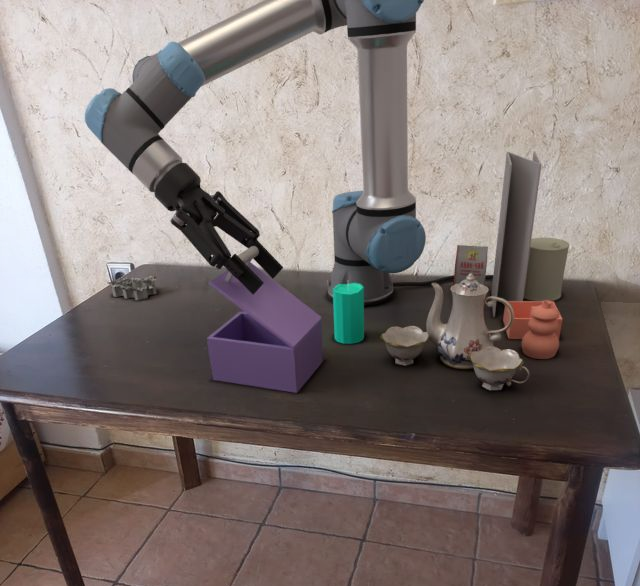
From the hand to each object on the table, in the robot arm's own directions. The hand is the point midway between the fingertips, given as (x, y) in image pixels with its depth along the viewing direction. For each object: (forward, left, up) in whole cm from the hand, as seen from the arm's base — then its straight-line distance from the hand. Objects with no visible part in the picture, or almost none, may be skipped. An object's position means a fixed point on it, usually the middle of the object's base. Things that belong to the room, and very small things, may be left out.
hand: (268, 280), depth 104 cm
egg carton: (+26, -52, -18) cm, 61 cm away
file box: (+1, -1, -17) cm, 17 cm away
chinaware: (-32, +8, -17) cm, 37 cm away
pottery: (-50, +3, -17) cm, 53 cm away
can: (-64, -18, -17) cm, 68 cm away
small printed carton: (-51, -27, -18) cm, 60 cm away
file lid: (+1, 0, -4) cm, 4 cm away
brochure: (-54, -15, -17) cm, 58 cm away
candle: (-17, -10, -17) cm, 26 cm away
